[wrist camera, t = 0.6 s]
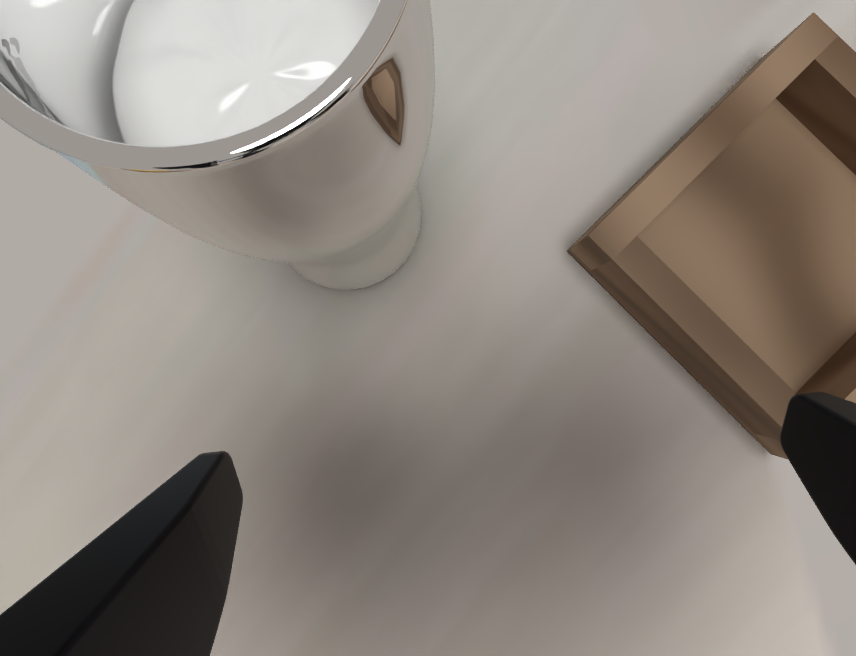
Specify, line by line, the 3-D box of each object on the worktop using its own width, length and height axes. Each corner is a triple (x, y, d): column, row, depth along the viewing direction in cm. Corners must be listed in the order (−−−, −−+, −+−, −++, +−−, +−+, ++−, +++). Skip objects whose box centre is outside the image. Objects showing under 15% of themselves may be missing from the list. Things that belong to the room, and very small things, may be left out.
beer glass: (395, 107, 22) (322, -422, 7) (457, 264, 22) (521, 67, 7) (236, 167, 22) (-187, -234, 7) (296, 327, 22) (-8, 270, 7)
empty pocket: (771, 454, 21) (825, 470, 18) (566, 250, 22) (588, 235, 19) (967, 253, 22) (1050, 238, 19) (763, 57, 22) (813, 12, 19)
